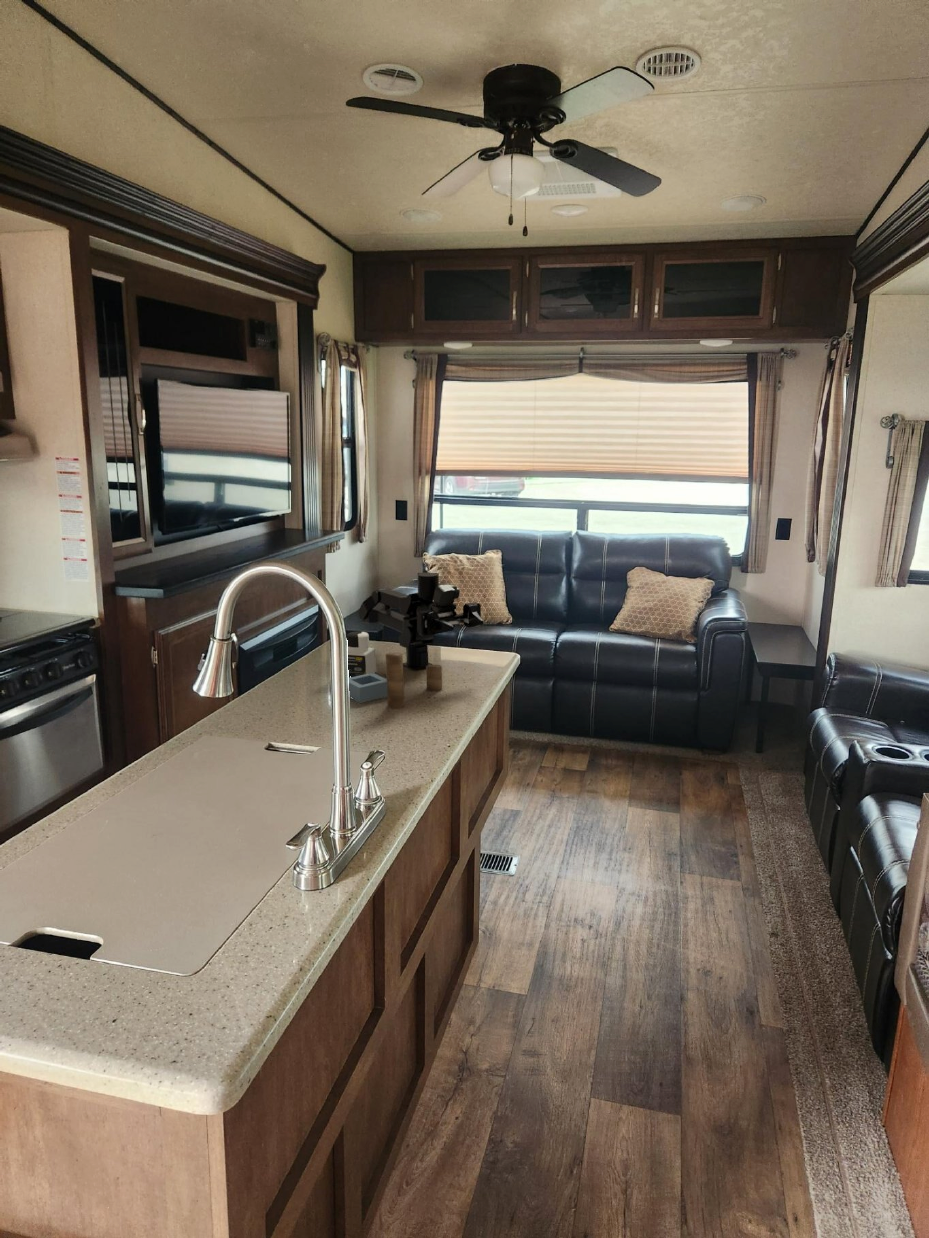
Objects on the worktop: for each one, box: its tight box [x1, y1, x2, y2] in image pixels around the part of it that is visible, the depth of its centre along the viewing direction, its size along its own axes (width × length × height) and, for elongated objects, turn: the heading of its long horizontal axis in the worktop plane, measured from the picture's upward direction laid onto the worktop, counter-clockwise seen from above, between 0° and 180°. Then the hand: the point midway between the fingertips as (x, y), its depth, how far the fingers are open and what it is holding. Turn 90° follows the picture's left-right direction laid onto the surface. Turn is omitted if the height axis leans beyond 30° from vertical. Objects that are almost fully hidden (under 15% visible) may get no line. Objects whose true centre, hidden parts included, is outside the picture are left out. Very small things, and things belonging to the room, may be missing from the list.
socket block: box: [349, 673, 388, 704], centre depth 210 cm, size 9×9×4 cm
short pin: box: [425, 664, 443, 692], centre depth 214 cm, size 4×4×6 cm
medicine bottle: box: [346, 630, 377, 678], centre depth 226 cm, size 7×7×12 cm
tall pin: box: [385, 651, 405, 709], centre depth 201 cm, size 4×4×13 cm
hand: (468, 625), depth 211 cm, fingers open, 9 cm apart
